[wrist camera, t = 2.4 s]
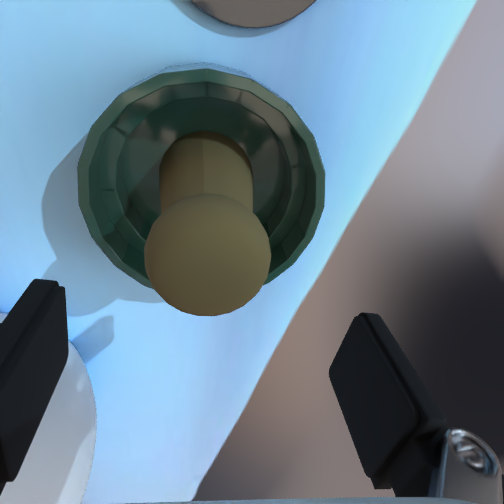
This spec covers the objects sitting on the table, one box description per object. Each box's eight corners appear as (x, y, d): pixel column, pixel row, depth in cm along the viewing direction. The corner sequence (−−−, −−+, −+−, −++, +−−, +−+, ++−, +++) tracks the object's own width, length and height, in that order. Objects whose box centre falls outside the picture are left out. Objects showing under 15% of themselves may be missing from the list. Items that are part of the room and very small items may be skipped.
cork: (238, 228, 24) (260, 346, 15) (151, 210, 23) (116, 328, 13) (265, 146, 21) (312, 229, 12) (167, 117, 20) (137, 188, 11)
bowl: (100, 248, 24) (81, 288, 20) (100, 35, 18) (72, 34, 14) (276, 270, 27) (288, 307, 23) (332, 93, 20) (361, 105, 17)
